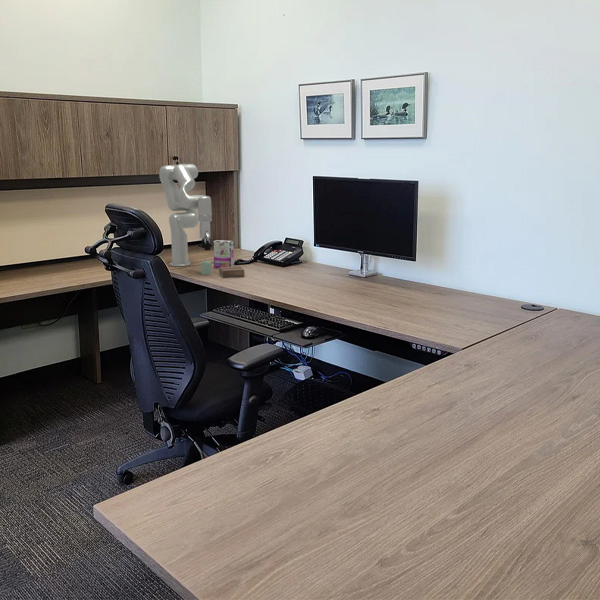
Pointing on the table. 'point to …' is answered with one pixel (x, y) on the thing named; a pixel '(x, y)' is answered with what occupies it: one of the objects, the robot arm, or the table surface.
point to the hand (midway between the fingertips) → (206, 249)
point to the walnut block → (231, 271)
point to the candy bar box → (223, 253)
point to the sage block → (205, 267)
